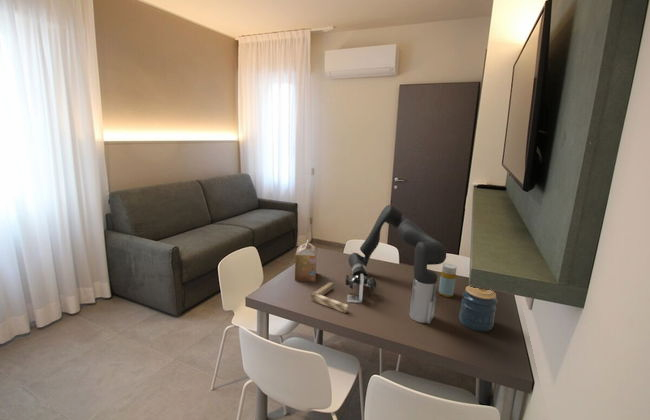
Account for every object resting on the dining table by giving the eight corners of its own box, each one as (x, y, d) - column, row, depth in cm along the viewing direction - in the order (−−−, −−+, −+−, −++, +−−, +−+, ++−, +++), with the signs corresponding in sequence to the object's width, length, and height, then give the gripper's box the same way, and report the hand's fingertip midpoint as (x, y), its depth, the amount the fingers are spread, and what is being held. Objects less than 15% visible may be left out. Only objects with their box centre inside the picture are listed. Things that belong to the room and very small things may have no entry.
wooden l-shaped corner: (362, 298, 145) (362, 292, 145) (345, 313, 132) (345, 306, 131) (329, 287, 155) (329, 281, 154) (310, 300, 142) (311, 294, 141)
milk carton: (315, 281, 161) (316, 246, 157) (294, 280, 161) (295, 245, 157) (316, 273, 171) (317, 240, 167) (296, 271, 171) (297, 238, 167)
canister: (497, 334, 122) (505, 293, 119) (462, 329, 125) (468, 288, 121) (487, 317, 135) (494, 279, 131) (455, 312, 137) (461, 275, 133)
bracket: (361, 297, 146) (363, 274, 144) (361, 303, 141) (363, 278, 139) (347, 296, 146) (348, 273, 144) (347, 302, 141) (349, 277, 139)
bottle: (437, 295, 152) (441, 266, 149) (439, 289, 158) (443, 262, 155) (452, 299, 149) (456, 269, 146) (454, 293, 155) (458, 265, 152)
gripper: (345, 265, 156) (346, 279, 140) (374, 267, 155) (378, 281, 139) (345, 279, 157) (345, 294, 142) (373, 281, 157) (376, 296, 141)
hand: (361, 288), depth 140 cm, fingers open, 8 cm apart
